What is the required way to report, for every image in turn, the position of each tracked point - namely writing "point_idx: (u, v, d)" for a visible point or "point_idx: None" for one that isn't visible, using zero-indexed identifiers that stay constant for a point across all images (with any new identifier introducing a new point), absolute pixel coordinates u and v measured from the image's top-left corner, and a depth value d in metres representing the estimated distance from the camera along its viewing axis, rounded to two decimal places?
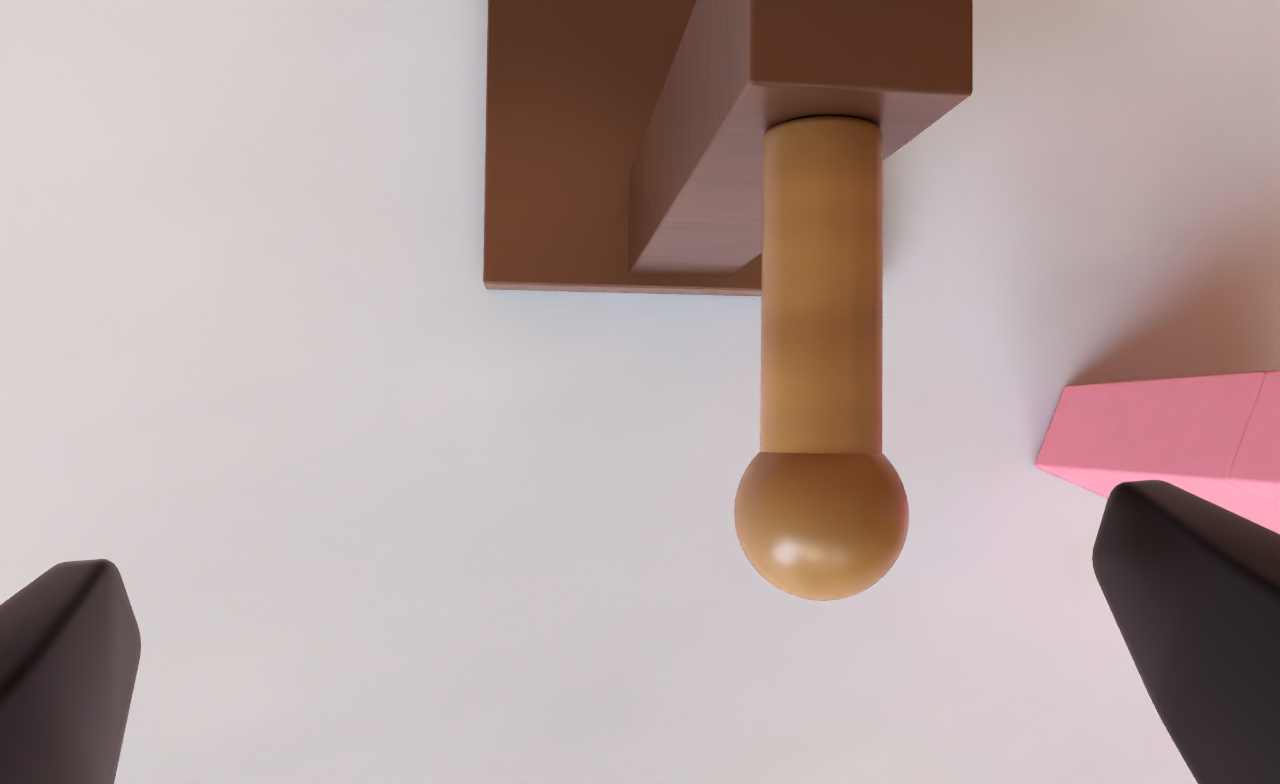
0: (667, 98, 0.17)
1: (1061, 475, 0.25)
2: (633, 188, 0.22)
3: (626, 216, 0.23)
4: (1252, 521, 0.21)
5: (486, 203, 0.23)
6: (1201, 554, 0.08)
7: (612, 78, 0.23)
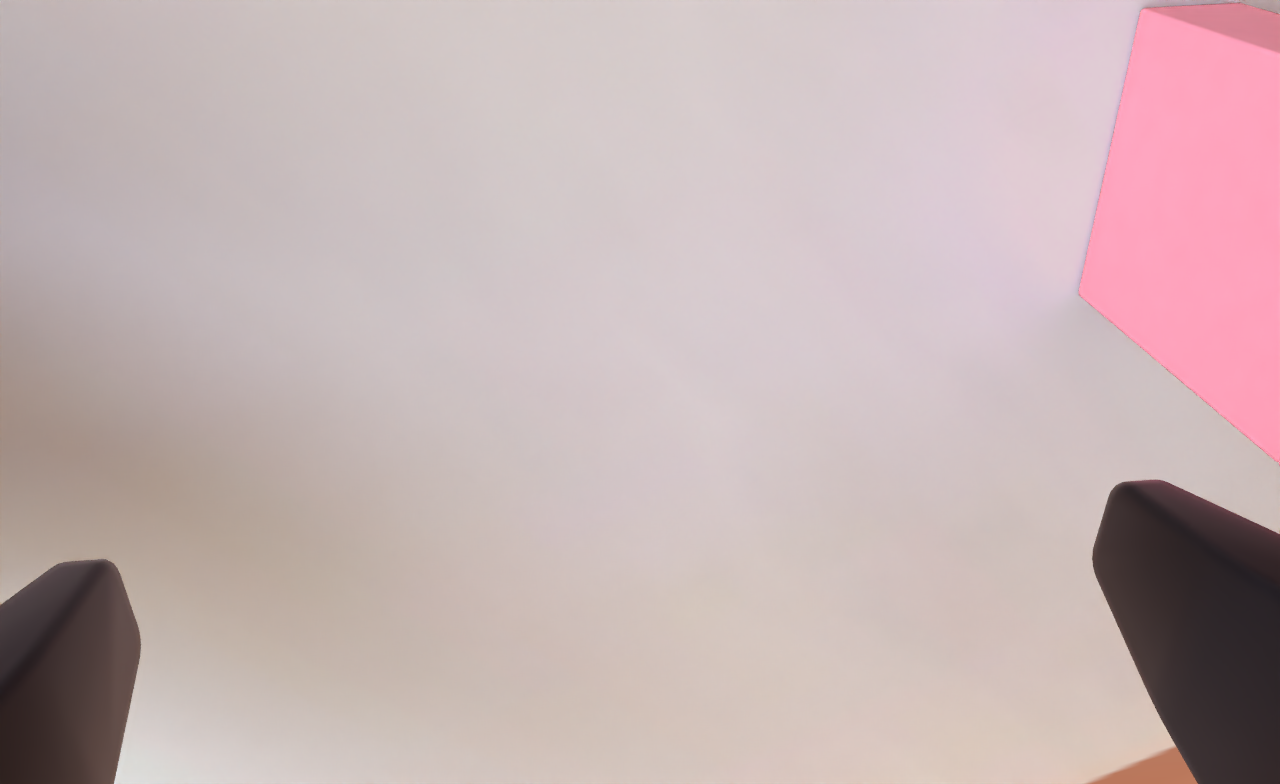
0: None
1: (1145, 40, 0.20)
2: None
3: None
4: (1257, 205, 0.18)
5: None
6: (1201, 554, 0.08)
7: None
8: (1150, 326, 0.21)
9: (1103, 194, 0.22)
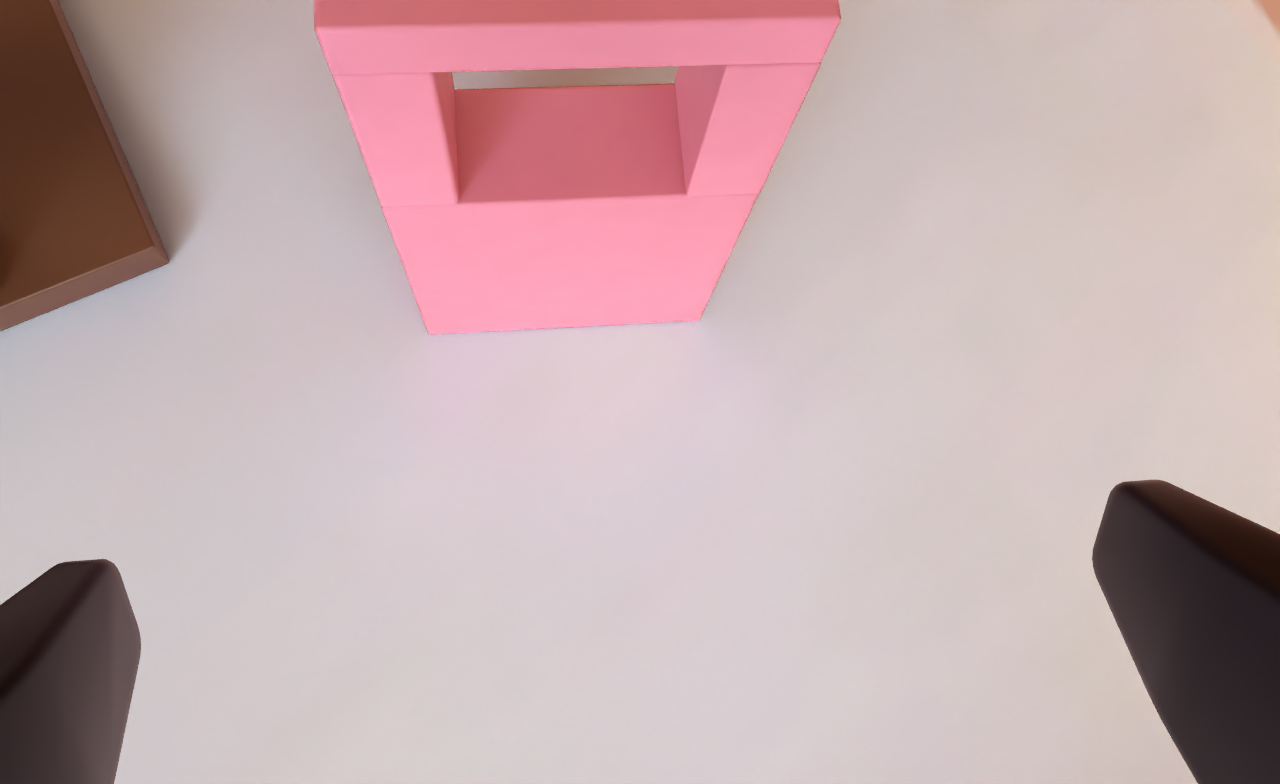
0: None
1: (450, 328, 0.23)
2: None
3: None
4: (531, 254, 0.19)
5: None
6: (1201, 554, 0.08)
7: None
8: (691, 281, 0.21)
9: (595, 324, 0.24)
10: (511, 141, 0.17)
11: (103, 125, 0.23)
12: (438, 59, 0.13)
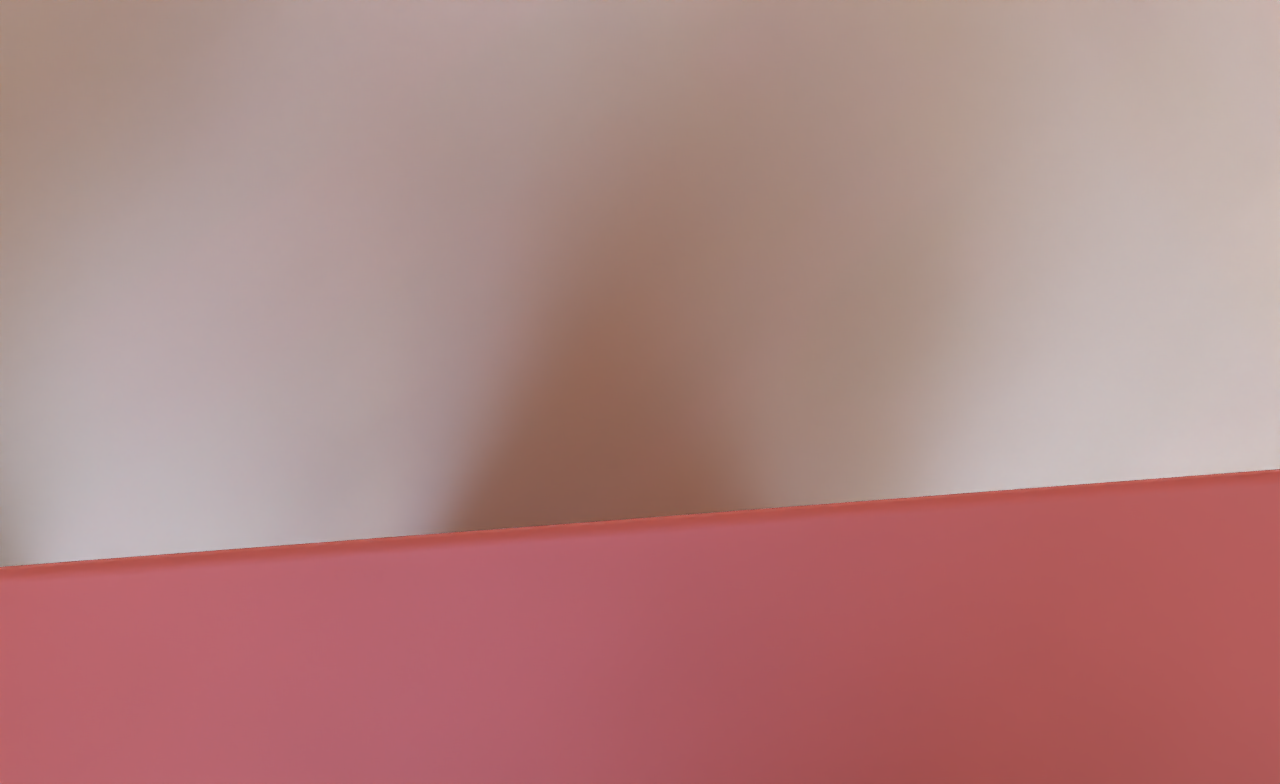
0: None
1: None
2: None
3: None
4: None
5: None
6: None
7: None
8: None
9: None
10: None
11: None
12: None
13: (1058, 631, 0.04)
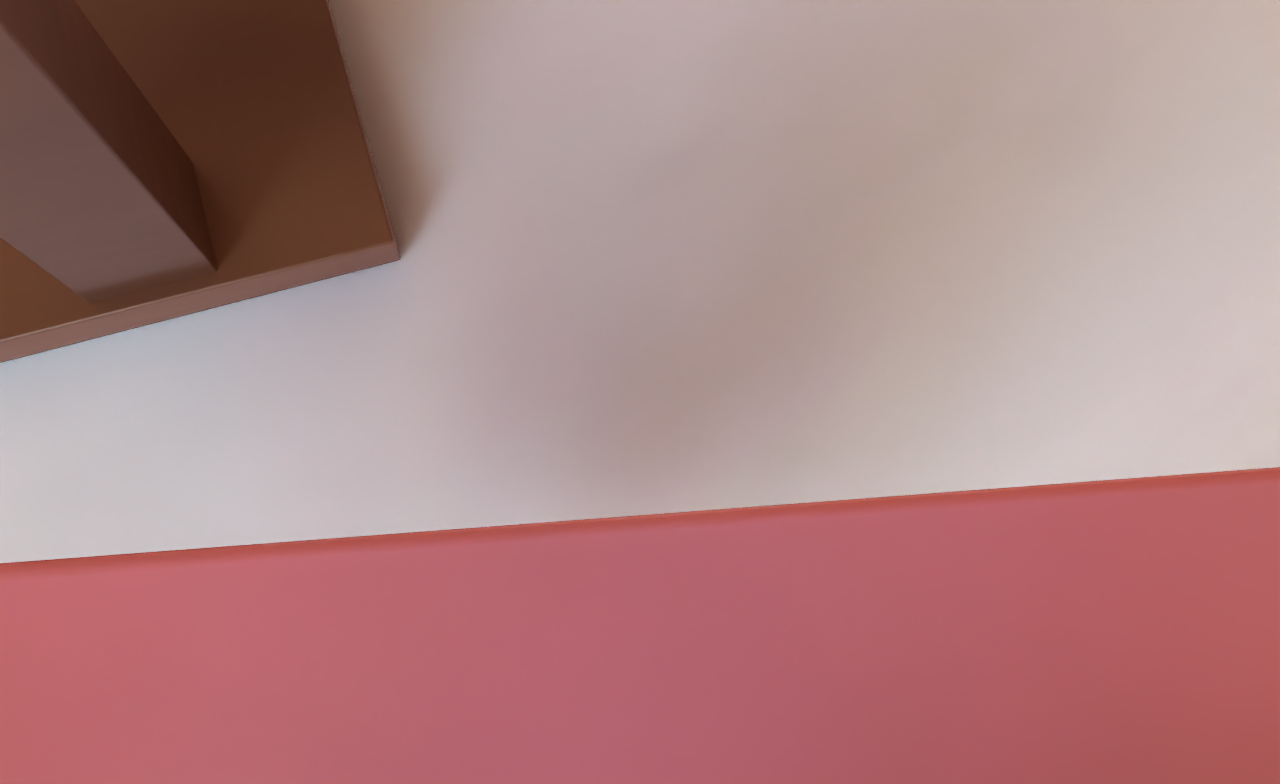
0: None
1: None
2: None
3: None
4: None
5: None
6: None
7: None
8: None
9: None
10: None
11: (353, 96, 0.20)
12: None
13: (1063, 627, 0.04)
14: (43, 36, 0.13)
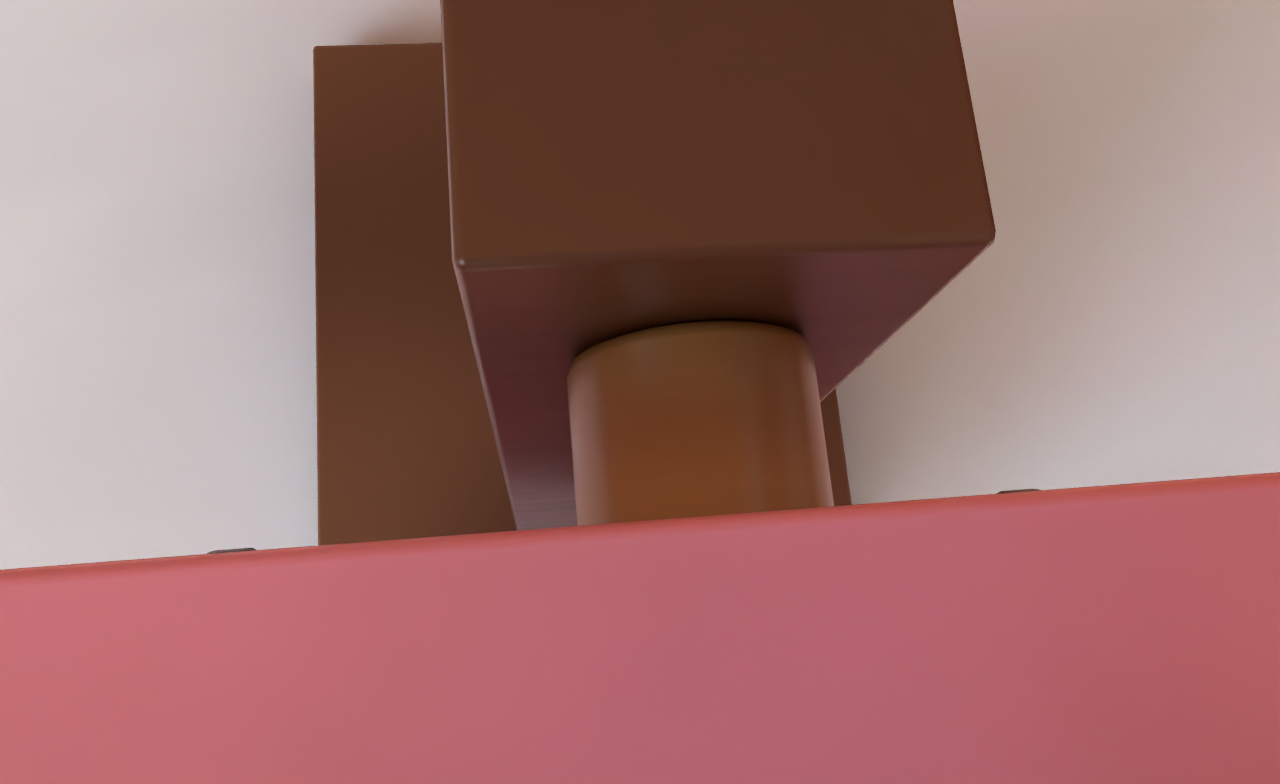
0: None
1: None
2: None
3: None
4: None
5: (319, 480, 0.17)
6: None
7: None
8: None
9: None
10: None
11: None
12: None
13: (1068, 634, 0.04)
14: None
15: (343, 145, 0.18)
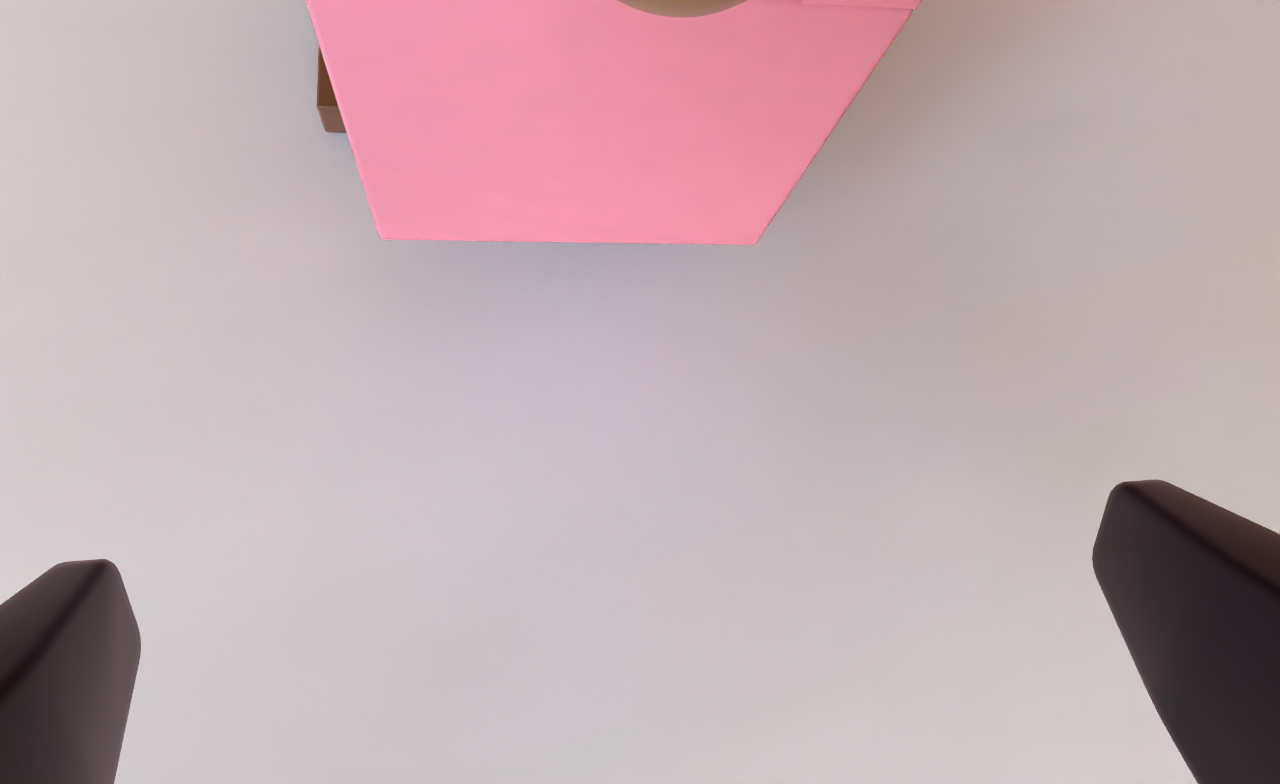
0: None
1: (410, 231, 0.16)
2: None
3: None
4: (538, 104, 0.12)
5: None
6: (1201, 554, 0.08)
7: None
8: (763, 176, 0.15)
9: (613, 240, 0.17)
10: None
11: None
12: None
13: None
14: None
15: None
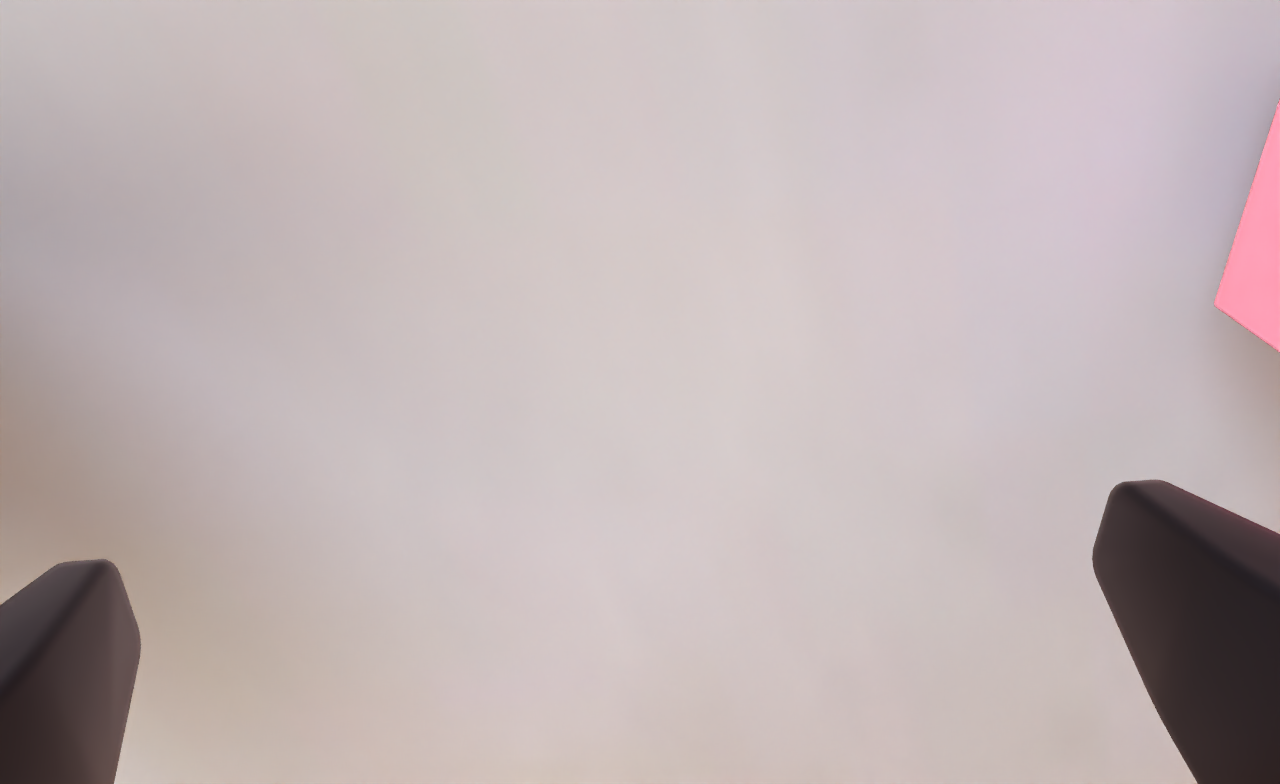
0: None
1: None
2: None
3: None
4: None
5: None
6: (1201, 554, 0.08)
7: None
8: None
9: (1254, 195, 0.20)
10: None
11: None
12: None
13: None
14: None
15: None
